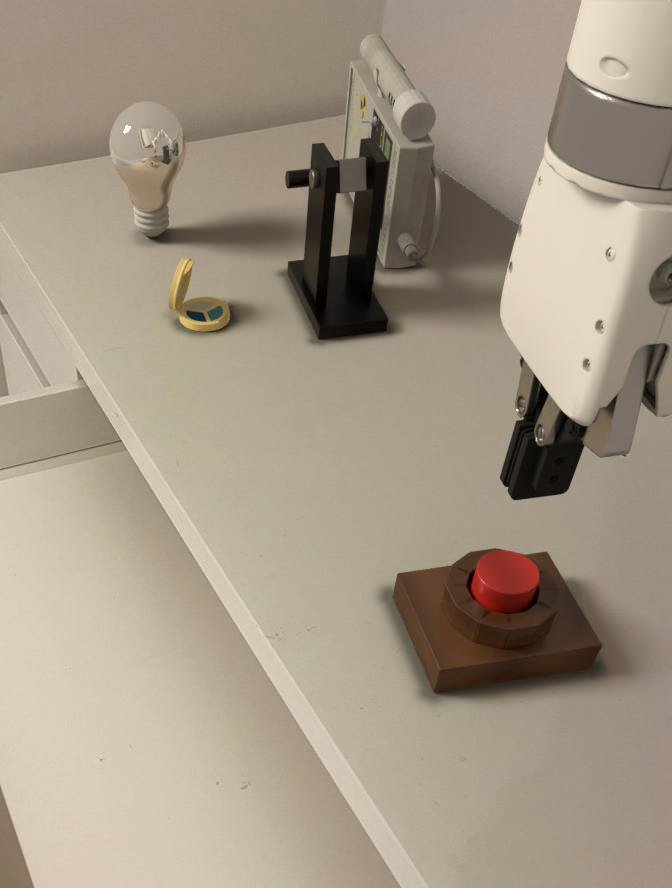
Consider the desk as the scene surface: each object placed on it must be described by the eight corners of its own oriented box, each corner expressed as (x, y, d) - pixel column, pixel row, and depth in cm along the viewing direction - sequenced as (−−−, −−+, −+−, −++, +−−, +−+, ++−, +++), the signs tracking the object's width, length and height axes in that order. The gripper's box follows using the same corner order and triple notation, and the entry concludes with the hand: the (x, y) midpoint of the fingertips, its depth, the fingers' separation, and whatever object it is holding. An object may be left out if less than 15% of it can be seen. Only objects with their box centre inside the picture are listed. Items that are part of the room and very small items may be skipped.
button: (518, 566, 60) (525, 545, 58) (542, 609, 57) (550, 589, 56) (461, 574, 59) (467, 554, 58) (483, 618, 57) (490, 598, 56)
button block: (538, 574, 64) (554, 530, 61) (592, 668, 59) (612, 624, 56) (392, 596, 63) (400, 552, 60) (433, 693, 58) (445, 650, 55)
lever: (285, 194, 88) (284, 165, 87) (339, 188, 88) (338, 159, 87) (322, 195, 77) (321, 161, 76) (383, 188, 77) (383, 155, 76)
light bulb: (153, 262, 91) (146, 127, 82) (101, 238, 94) (89, 106, 85) (203, 234, 94) (201, 101, 85) (151, 211, 97) (144, 81, 88)
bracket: (287, 273, 89) (295, 127, 80) (350, 266, 90) (366, 120, 80) (318, 339, 82) (331, 187, 72) (386, 331, 83) (409, 179, 73)
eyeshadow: (222, 334, 83) (222, 281, 79) (166, 326, 84) (163, 272, 80) (235, 307, 86) (236, 254, 82) (181, 299, 87) (180, 246, 83)
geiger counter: (341, 22, 92) (408, 135, 75) (408, 18, 92) (489, 129, 76) (329, 173, 102) (386, 300, 86) (389, 168, 102) (456, 294, 86)
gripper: (858, 202, 34) (667, 577, 47) (649, 48, 43) (541, 397, 57) (654, 222, 33) (521, 598, 47) (488, 61, 42) (418, 412, 56)
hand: (532, 487), depth 52 cm, fingers closed
